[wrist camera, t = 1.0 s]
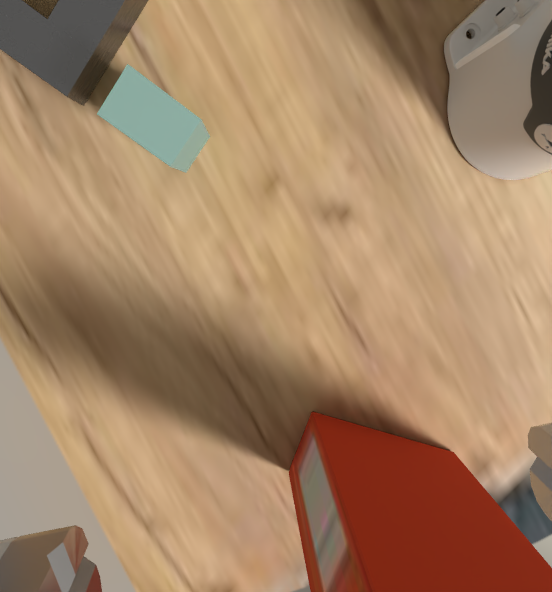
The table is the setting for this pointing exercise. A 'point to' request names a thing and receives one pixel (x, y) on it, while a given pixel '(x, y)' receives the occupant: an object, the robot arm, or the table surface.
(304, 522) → the file binder
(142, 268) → the table surface
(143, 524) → the table surface
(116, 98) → the sage green box
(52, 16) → the collar block
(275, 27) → the table surface
